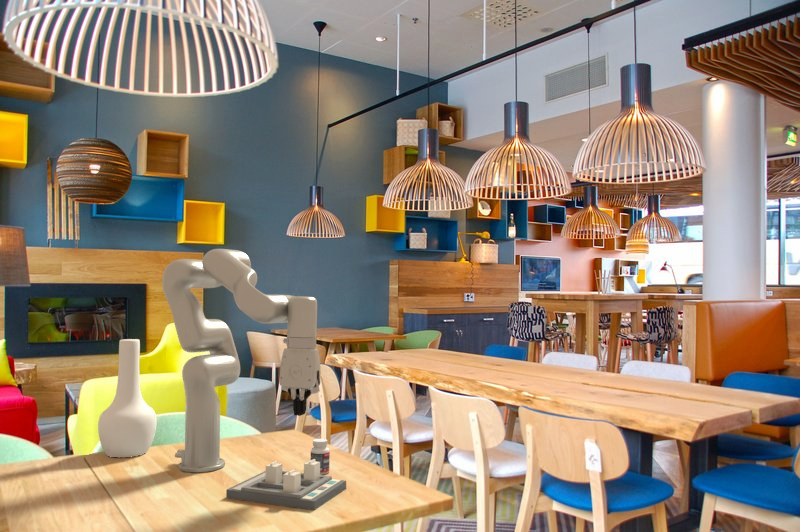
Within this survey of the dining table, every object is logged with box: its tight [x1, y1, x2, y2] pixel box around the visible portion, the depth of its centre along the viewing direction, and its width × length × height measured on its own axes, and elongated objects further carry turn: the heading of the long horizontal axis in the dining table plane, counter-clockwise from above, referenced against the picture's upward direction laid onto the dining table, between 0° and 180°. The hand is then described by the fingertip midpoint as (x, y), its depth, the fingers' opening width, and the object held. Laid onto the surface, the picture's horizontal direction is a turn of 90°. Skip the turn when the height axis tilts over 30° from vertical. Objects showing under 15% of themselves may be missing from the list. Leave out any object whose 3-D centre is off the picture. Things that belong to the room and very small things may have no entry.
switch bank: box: [225, 470, 347, 511], centre depth 157 cm, size 24×17×3 cm
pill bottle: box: [310, 438, 331, 476], centre depth 175 cm, size 5×5×9 cm
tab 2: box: [283, 468, 302, 493], centre depth 151 cm, size 3×3×5 cm
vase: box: [97, 338, 158, 458], centre depth 195 cm, size 17×17×35 cm
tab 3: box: [303, 459, 320, 481], centre depth 160 cm, size 3×3×5 cm
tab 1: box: [265, 460, 283, 483], centre depth 158 cm, size 3×3×5 cm
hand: (299, 414), depth 164 cm, fingers closed
